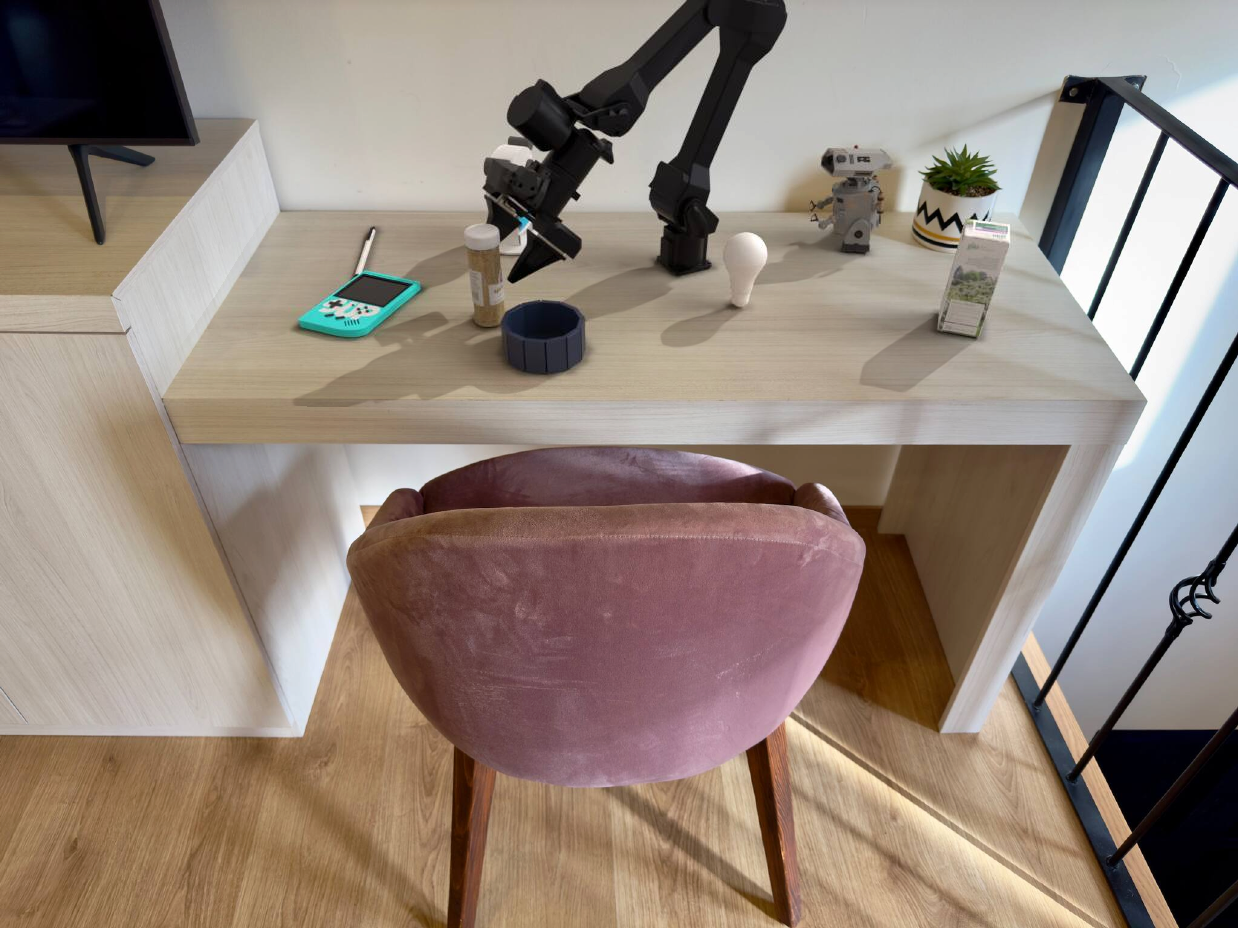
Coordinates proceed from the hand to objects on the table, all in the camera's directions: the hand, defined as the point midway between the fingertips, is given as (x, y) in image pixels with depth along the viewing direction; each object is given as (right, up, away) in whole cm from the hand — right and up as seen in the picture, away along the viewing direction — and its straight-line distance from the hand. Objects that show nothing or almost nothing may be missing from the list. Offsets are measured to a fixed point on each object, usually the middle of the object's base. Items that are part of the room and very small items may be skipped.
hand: (494, 268), depth 115 cm
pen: (-23, +6, +20) cm, 31 cm away
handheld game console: (-20, -4, +7) cm, 22 cm away
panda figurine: (0, +10, +24) cm, 26 cm away
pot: (+7, -12, -2) cm, 14 cm away
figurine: (+53, +10, +25) cm, 60 cm away
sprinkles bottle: (-1, -6, +4) cm, 8 cm away
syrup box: (+64, -7, +4) cm, 65 cm away
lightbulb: (+34, -4, +8) cm, 35 cm away
